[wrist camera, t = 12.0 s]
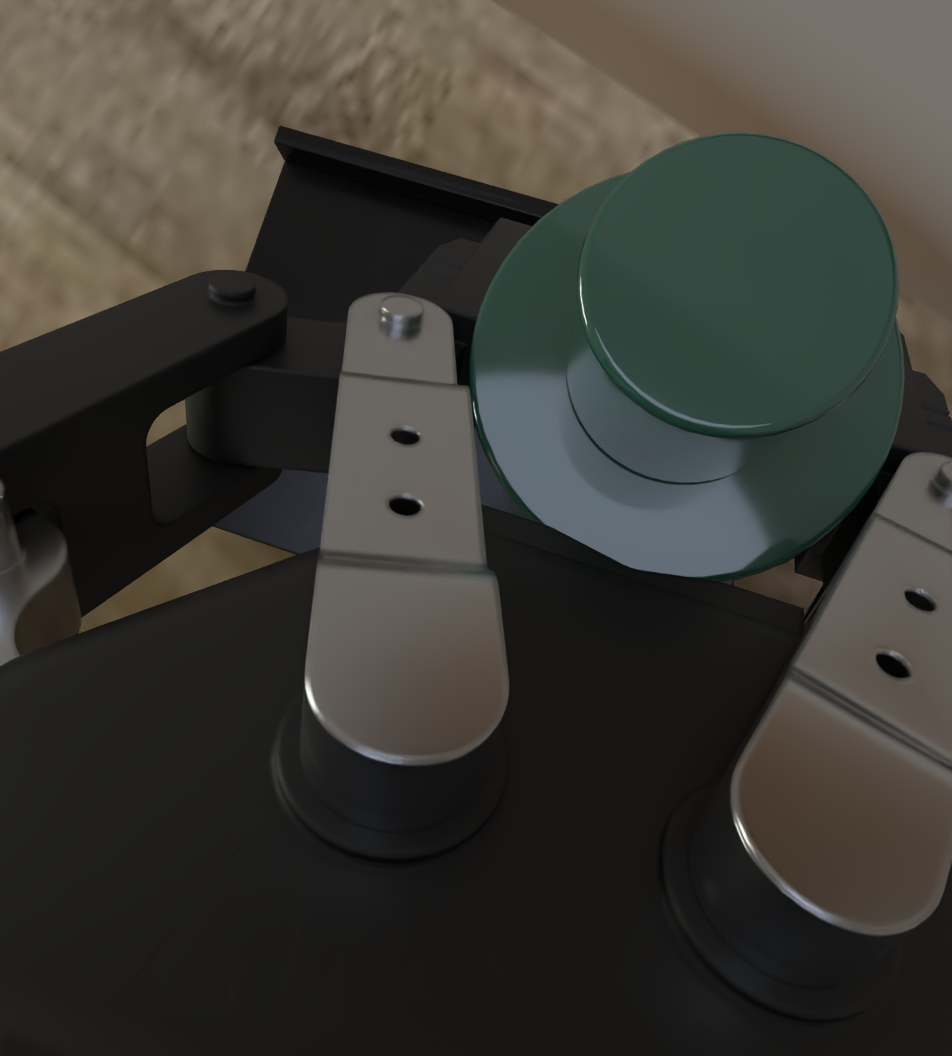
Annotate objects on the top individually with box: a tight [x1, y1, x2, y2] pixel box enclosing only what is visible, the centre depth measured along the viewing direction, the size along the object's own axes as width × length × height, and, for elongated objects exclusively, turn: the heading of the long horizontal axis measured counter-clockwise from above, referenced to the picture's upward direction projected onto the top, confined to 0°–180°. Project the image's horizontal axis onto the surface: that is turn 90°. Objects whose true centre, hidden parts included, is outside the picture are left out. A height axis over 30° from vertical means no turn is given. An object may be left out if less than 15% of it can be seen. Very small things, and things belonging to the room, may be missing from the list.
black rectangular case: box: [213, 126, 734, 586], centre depth 30 cm, size 18×13×8 cm
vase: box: [469, 132, 905, 582], centre depth 13 cm, size 5×5×12 cm
